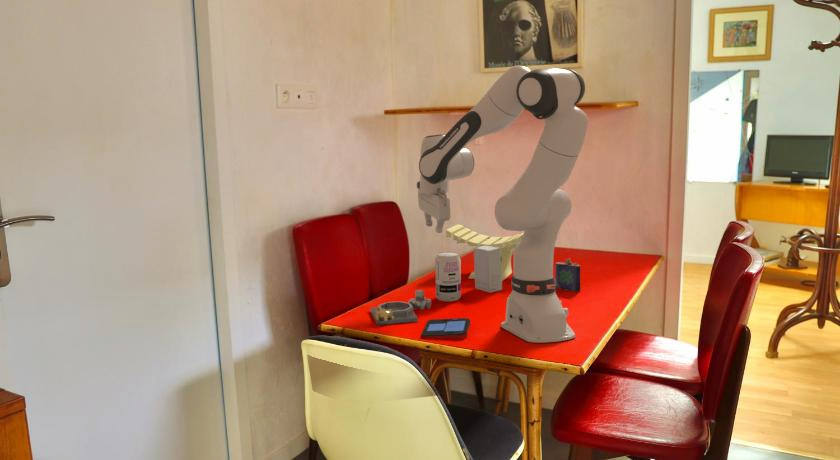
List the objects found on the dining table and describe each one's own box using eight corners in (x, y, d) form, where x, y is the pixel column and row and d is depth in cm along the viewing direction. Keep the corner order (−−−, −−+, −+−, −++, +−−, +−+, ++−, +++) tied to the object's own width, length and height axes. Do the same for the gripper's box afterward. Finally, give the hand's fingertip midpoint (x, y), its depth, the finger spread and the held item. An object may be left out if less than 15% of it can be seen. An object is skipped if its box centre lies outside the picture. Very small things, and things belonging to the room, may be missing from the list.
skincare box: (502, 290, 224) (502, 248, 221) (488, 293, 220) (488, 250, 218) (486, 285, 230) (486, 244, 228) (473, 288, 227) (473, 246, 225)
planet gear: (433, 308, 204) (432, 293, 204) (411, 310, 203) (411, 294, 202) (428, 302, 211) (427, 287, 210) (406, 304, 210) (406, 289, 209)
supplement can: (447, 293, 221) (447, 250, 218) (465, 298, 215) (465, 253, 213) (430, 298, 215) (430, 254, 213) (449, 303, 210) (448, 257, 207)
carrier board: (418, 321, 192) (418, 311, 191) (377, 325, 189) (377, 314, 189) (408, 308, 205) (408, 298, 205) (370, 311, 203) (369, 301, 202)
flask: (553, 288, 225) (554, 257, 223) (557, 286, 227) (558, 256, 225) (578, 292, 219) (579, 261, 217) (582, 290, 221) (583, 259, 220)
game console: (427, 323, 192) (427, 316, 191) (471, 324, 190) (471, 317, 189) (419, 339, 178) (419, 332, 177) (466, 341, 176) (466, 333, 175)
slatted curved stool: (535, 272, 247) (536, 226, 244) (525, 282, 233) (525, 233, 230) (460, 267, 259) (460, 222, 256) (446, 276, 245) (446, 229, 242)
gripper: (455, 191, 196) (455, 235, 199) (433, 181, 215) (432, 222, 218) (436, 192, 194) (435, 237, 197) (414, 181, 213) (414, 223, 216)
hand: (433, 229), depth 208 cm, fingers open, 8 cm apart
